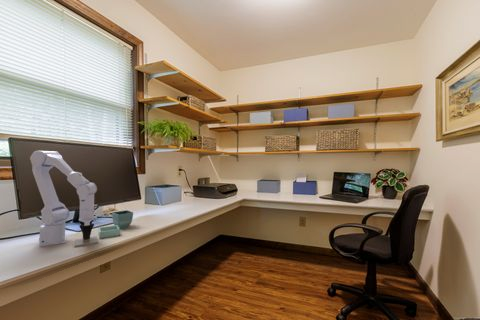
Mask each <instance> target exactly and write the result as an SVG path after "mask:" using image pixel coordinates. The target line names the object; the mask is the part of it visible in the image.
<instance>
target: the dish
mask: <svg viewBox="0 0 480 320" xmlns="http://www.w3.org/2000/svg"><path fill="white" fill-rule="evenodd" d="M97 233H98V240H99V239H100V240H101V239H105V238H112V237H113V238H114V237H118V236H120V233H121V229H119V227H118V225H108V226H101V227H98V230H97Z"/></svg>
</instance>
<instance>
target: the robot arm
mask: <svg viewBox="0 0 480 320" xmlns="http://www.w3.org/2000/svg"><path fill="white" fill-rule="evenodd" d="M30 155H31V156H30V157H29V160H30V163H31V167H32V169H31V170H32V174H33V177H34V180H35V182H36V185H37V188H38V191H39V194H40V196H41V199H42V202H43V204H44V207H43V208H42V209H41V210H40V214H41V222H42V224H41V225H40V226H39V238H38V241H39V245H38V246H39V247H44V246H45V247H46V246H51V245H52V246H53V245H58V244H64V243H66V242H67V236H66V222H67V219H69V218H70V211H69V209H68V208H67V207H66V205H65V204H64V203H62V202H61V201H60V199H59V197H58V195H57V192H56V188H55V186H54V183H53V181H52V178H51V176H50V173H49V172H50V170H51V169H53V168H54V167H55V168H57V169H58V170H59V171H60V172H61V173H62V174H64V175H65V176H66V177H67V178H66V181H68V183H70V184H71V185H72V186H73V187H74V188H75V190H76V194H77V195H78V199H79V218H78V221H79V228H80V230H81V233H82V238H84V240H87V239H90V237H91V234H92V230H93V229H94V226H95V223H93V222H94V219H95V220H96V219H97V217H98V216H95V194H96V193H97V191H98V187H97V185H96V183H95V182H90V181H89V179H87V178H85V177H84V176H83V173H82V172H79V171H74V170H73V169H72V168H71V166H70V165H69V164H68V163H67V162H66V160H64V159H63V156H62V155H61V154H60V153H59V152H58V151H57V150H56V151H55V150H51V151H50V150H35V151H33V152H32V154H30Z"/></svg>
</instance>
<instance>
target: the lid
mask: <svg viewBox="0 0 480 320" xmlns="http://www.w3.org/2000/svg"><path fill="white" fill-rule="evenodd" d="M97 237H98V236H97V235H95V236H90V239H87V240H84V238H83V237H82V238H78V239H74V241H75V244H74V247H77V248H81V247H80V246H82V247H87V246H86V245H88V246H93V245H92V244H94V245H98V244H97V243H98V240H99V238H98V239H97Z"/></svg>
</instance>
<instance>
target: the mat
mask: <svg viewBox="0 0 480 320" xmlns="http://www.w3.org/2000/svg"><path fill="white" fill-rule="evenodd" d="M97 239H98V243H97V244H96V245H99V244H100V241H99V236H97ZM74 244H75V240H74V241H73V243H72V245H73V246H72V249H75V248H78V247H74ZM93 245H95V244H92V245H91V246H93ZM87 246H88V247H89V245H86V246H85V247H87ZM81 247H83V246H80V247H79V248H81Z"/></svg>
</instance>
